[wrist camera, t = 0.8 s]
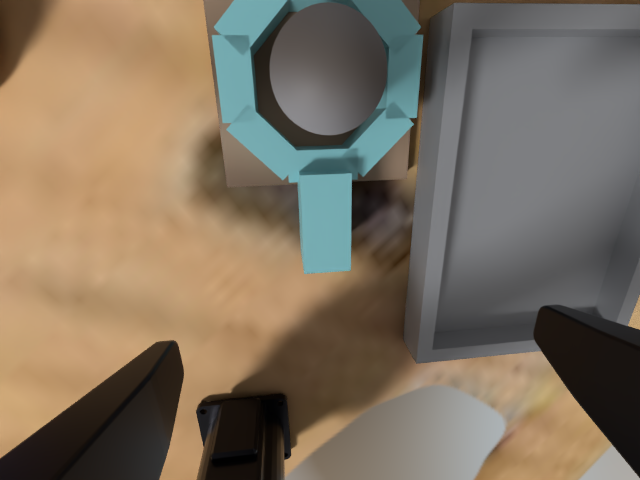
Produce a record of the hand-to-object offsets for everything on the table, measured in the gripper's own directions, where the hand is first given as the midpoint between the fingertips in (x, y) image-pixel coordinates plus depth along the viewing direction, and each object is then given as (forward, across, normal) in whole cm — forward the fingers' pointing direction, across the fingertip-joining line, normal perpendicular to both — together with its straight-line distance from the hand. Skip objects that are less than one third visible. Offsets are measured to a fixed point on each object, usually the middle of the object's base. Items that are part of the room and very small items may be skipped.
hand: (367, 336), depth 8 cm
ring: (+12, 0, -4) cm, 12 cm away
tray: (+12, -14, 0) cm, 19 cm away
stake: (+12, 0, -7) cm, 14 cm away
